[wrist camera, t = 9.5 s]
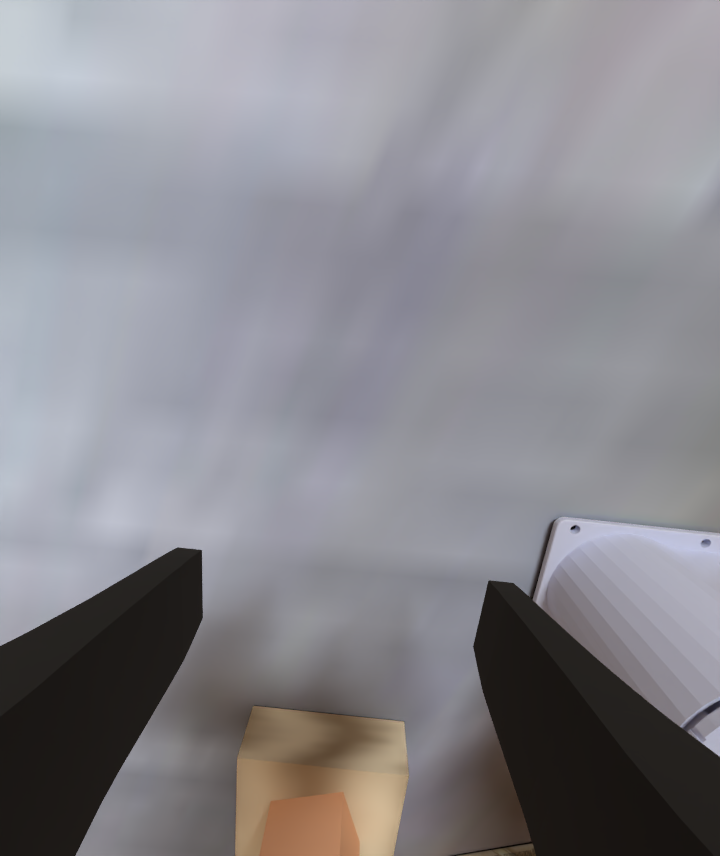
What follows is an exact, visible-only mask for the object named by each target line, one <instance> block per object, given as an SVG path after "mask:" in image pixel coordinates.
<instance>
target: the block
mask: <svg viewBox="0 0 720 856" xmlns="http://www.w3.org/2000/svg"><path fill="white" fill-rule="evenodd" d="M259 856H360V841H359V838H358V835H357V832H356V829H355V826H354V823H353V820H352V817H351V814H350V811H349V808H348V805H347V802H346V799H345V796H344V793H343V792H338V793H330V794H322V795H314V796H306V797H298V798H291V799H283V800H275V801H271V802H270V807H269V811H268V816H267V821H266V826H265V831H264V835H263V840H262V845H261V850H260V854H259Z"/></svg>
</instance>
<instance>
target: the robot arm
mask: <svg viewBox="0 0 720 856" xmlns="http://www.w3.org/2000/svg"><path fill="white" fill-rule="evenodd" d="M574 525H576V527H575V529H573V530H570V529H571V527H572V526H574ZM702 541H703V542H702ZM202 618H203V608H202V550H196V549H186V548H176V549H174V550H172V551H170V552H168V553H166V554H165V555H163V556H161V557H160V558H158V559H156V560H154V561H153V562H151V563H149V564H148V565H146V566H144V567H143V568H141V569H139V570H138V571H136V572H134V573H133V574H131V575H129V576H128V577H126V578H124V579H122V580H121V581H119V582H117V583H116V584H114V585H112V586H110V587H109V588H107V589H105V590H104V591H102V592H100V593H99V594H97V595H95V596H93V597H92V598H90V599H88V600H86V601H85V602H83V603H81V604H79V605H77V606H75V607H74V608H72V609H70V610H68V611H66V612H64V613H62V614H61V615H59V616H57V617H55V618H53V619H51V620H50V621H48V622H46V623H44V624H42V625H40V626H39V627H37V628H35V629H33V630H31V631H29V632H27V633H25V634H23V635H22V636H20V637H18V638H16V639H14V640H12V641H10V642H8V643H6V644H4V645H2V646H0V856H75V855H76V853H77V851H78V849H79V847H80V845H81V843H82V841H83V839H84V837H85V835H86V833H87V831H88V829H89V827H90V825H91V823H92V821H93V819H94V817H95V815H96V813H97V811H98V809H99V807H100V805H101V803H102V801H103V799H104V797H105V795H106V794H107V792H108V790H109V788H110V786H111V785H112V783H113V781H114V779H115V777H116V775H117V774H118V772H119V770H120V768H121V767H122V765H123V763H124V762H125V760H126V758H127V757H128V755H129V753H130V752H131V750H132V748H133V746H134V745H135V743H136V741H137V740H138V738H139V736H140V735H141V733H142V731H143V729H144V728H145V726H146V724H147V723H148V721H149V719H150V718H151V716H152V714H153V712H154V711H155V709H156V707H157V706H158V704H159V702H160V701H161V699H162V697H163V695H164V694H165V692H166V690H167V689H168V687H169V685H170V683H171V682H172V680H173V678H174V676H175V675H176V673H177V671H178V670H179V668H180V666H181V664H182V662H183V661H184V659H185V656H186V654H187V652H188V650H189V648H190V646H191V643H192V641H193V639H194V637H195V634H196V632H197V630H198V627H199V625H200V623H201V621H202ZM473 647H474V652H475V657H476V662H477V667H478V672H479V676H480V680H481V685H482V689H483V693H484V696H485V699H486V703H487V706H488V709H489V712H490V715H491V718H492V721H493V724H494V727H495V730H496V733H497V736H498V739H499V742H500V745H501V748H502V751H503V754H504V757H505V760H506V763H507V766H508V769H509V772H510V775H511V778H512V781H513V784H514V787H515V790H516V793H517V796H518V799H519V802H520V805H521V808H522V811H523V813H524V817H525V820H526V823H527V826H528V830H529V833H530V836H531V840H532V843H533V846H534V850H535V854H536V856H720V533H711V532H702V531H693V530H683V529H674V528H664V527H655V526H646V525H636V524H627V523H617V522H608V521H599V520H589V519H580V518H571V517H560V518H558V519H557V520H556V521H555V522H554V524H553V528H552V531H551V535H550V539H549V542H548V546H547V549H546V553H545V557H544V560H543V564H542V568H541V571H540V575H539V579H538V582H537V586H536V590H535V593H534V597H533V600H532V599H531V598H530V597H529V596H527V595H526V594H525V593H524V592H523V591H522V590H521V589H520V588H518V587H517V586H516V585H515V584H514V583H508V582H498V581H488V585H487V590H486V594H485V598H484V603H483V607H482V611H481V616H480V620H479V624H478V629H477V633H476V637H475V641H474V646H473Z"/></svg>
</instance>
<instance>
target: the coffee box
mask: <svg viewBox="0 0 720 856" xmlns="http://www.w3.org/2000/svg"><path fill="white" fill-rule="evenodd" d="M458 856H536V854H535V850H534V846H533V843H531V844H524V845H518V846H513V847H506V848H500V849H494V850H488V851H482V852H476V853H469V854H463V855H458Z"/></svg>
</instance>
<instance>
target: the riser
mask: <svg viewBox="0 0 720 856" xmlns="http://www.w3.org/2000/svg"><path fill="white" fill-rule="evenodd" d="M408 778H409V771H408V760H407V749H406V738H405V726H404V721H394V720H384V719H375V718H365V717H356V716H346V715H336V714H327V713H317V712H308V711H298V710H289V709H279V708H269V707H260V706H253V708H252V712H251V715H250V718H249V721H248V725H247V728H246V731H245V734H244V738H243V741H242V744H241V747H240V750H239V754H238V757H237V793H236V843H235V856H259V854H260V850H261V845H262V840H263V835H264V831H265V826H266V821H267V816H268V811H269V807H270V802H271V801H275V800H283V799H291V798H298V797H306V796H314V795H322V794H330V793H338V792H343V793H344V796H345V799H346V802H347V805H348V808H349V811H350V814H351V817H352V820H353V823H354V826H355V829H356V832H357V835H358V838H359V841H360V856H393V854H394V849H395V844H396V839H397V834H398V829H399V823H400V818H401V813H402V808H403V803H404V798H405V793H406V788H407V783H408Z"/></svg>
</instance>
